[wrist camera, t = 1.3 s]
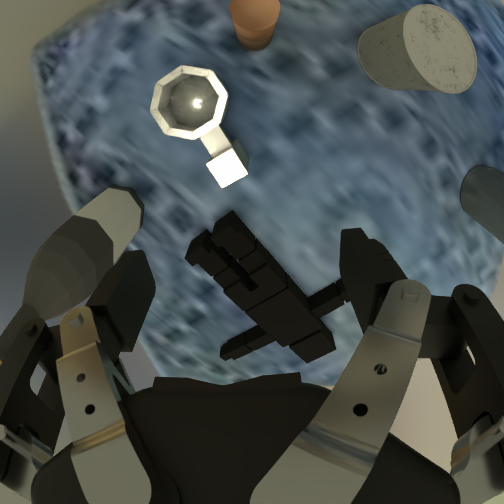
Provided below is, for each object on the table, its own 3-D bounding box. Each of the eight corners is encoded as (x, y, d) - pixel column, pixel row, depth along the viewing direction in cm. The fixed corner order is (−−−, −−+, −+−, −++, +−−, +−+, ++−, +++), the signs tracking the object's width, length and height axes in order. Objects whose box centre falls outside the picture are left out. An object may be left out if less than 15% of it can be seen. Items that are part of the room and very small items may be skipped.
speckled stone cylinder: (423, 42, 24) (479, 34, 13) (413, 100, 29) (471, 109, 18) (362, 14, 23) (406, -13, 13) (351, 75, 28) (396, 69, 17)
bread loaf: (260, 18, 24) (264, -19, 14) (277, 42, 26) (289, 15, 16) (231, 31, 26) (220, 0, 15) (248, 56, 27) (245, 34, 17)
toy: (307, 170, 30) (396, 320, 42) (300, 160, 35) (386, 300, 47) (133, 297, 40) (253, 388, 52) (143, 276, 44) (253, 367, 56)
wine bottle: (132, 243, 40) (34, 418, 15) (91, 216, 38) (-34, 365, 12) (155, 203, 37) (31, 392, 11) (110, 173, 35) (-53, 318, 9)
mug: (210, 61, 28) (197, 51, 21) (265, 149, 33) (268, 163, 27) (158, 95, 30) (133, 95, 23) (213, 178, 35) (203, 199, 28)
